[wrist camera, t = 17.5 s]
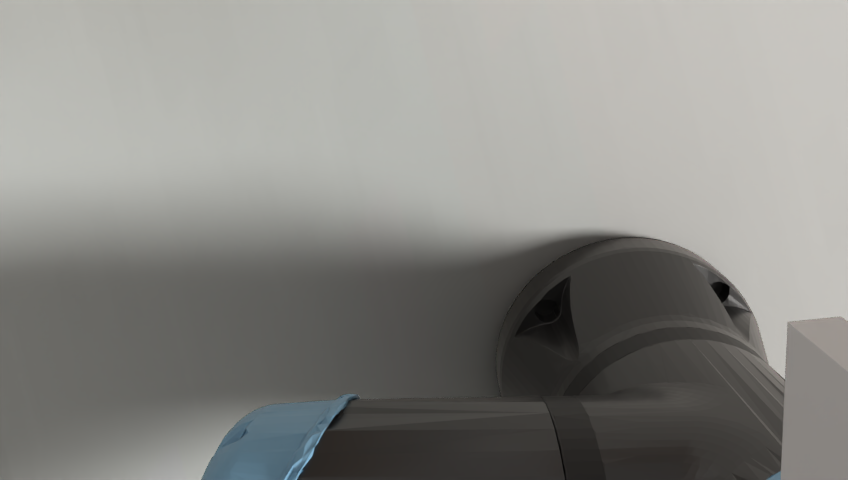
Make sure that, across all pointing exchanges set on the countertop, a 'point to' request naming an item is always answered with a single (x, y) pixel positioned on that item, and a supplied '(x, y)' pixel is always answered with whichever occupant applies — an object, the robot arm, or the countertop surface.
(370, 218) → the countertop surface
